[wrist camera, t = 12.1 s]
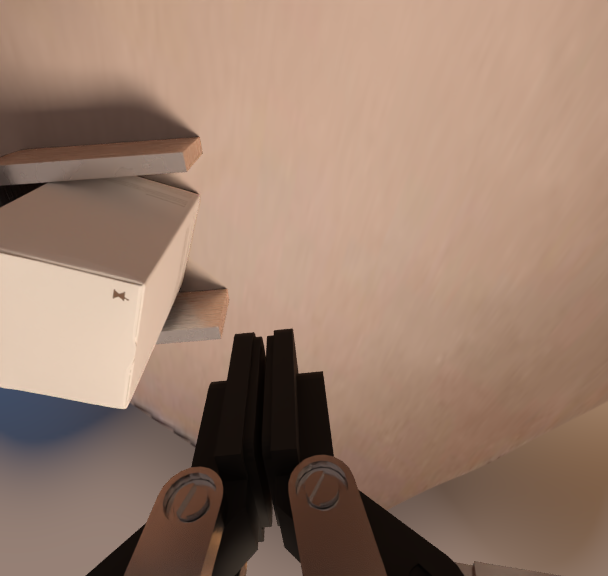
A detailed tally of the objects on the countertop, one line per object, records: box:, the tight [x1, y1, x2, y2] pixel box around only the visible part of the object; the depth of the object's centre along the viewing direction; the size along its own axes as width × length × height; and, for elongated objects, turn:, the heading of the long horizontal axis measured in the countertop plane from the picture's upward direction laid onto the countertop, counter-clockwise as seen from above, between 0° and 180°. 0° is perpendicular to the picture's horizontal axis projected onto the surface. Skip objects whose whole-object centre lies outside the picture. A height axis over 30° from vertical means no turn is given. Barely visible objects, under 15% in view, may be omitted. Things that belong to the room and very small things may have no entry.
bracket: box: [0, 137, 229, 344], centre depth 29 cm, size 13×14×8 cm
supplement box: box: [0, 176, 200, 409], centre depth 26 cm, size 9×9×15 cm
